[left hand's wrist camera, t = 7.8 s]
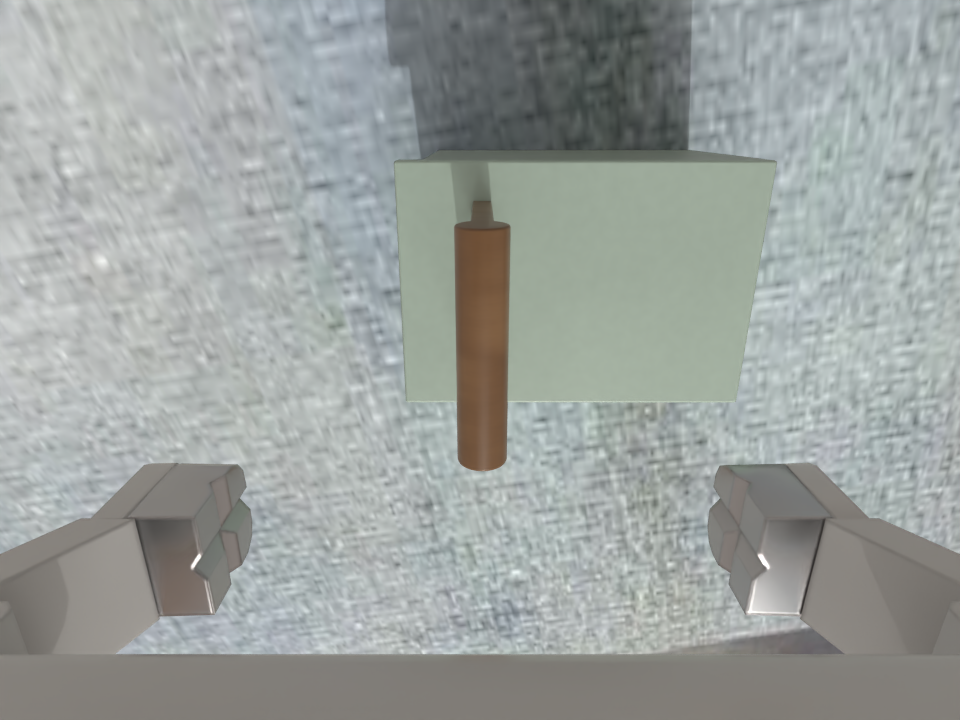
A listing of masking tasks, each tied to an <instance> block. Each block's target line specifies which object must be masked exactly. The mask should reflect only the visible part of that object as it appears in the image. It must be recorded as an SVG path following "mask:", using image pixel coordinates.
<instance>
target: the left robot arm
mask: <svg viewBox="0 0 960 720" xmlns="http://www.w3.org/2000/svg"><path fill="white" fill-rule="evenodd" d="M245 489H246V482H245V477H244V472H243V470H242V469H241V467H240V466H239V465H234V464H183V463H181V464H178V463H152V464H147V465H144V466H143V467H142V468H141V469H140V470H139V471H138V472H137V473H136V474H135V475H134V476H133V477H132V478H131V479H130V480H129V481H128V482H127V483H126V484H125V485H124V486H123V487H122V488H121V489H120V490H119V491H118V492H117V493H116V494H115V495H114V496H113V497H112V498H111V499H110V500H109V501H108V502H107V503H106V504H105V505H104V506H103V507H102V508H101V509H100V510H99V511H98V512H97V513H96V514H95V515H94V516H93V517H92V518H82V519H79V520H76V521H74V522H72V523H70V524H67V525H65V526H63V527H60V528H58V529H56V530H54V531H51V532H49V533H47V534H45V535H42V536H40V537H38V538H36V539H33V540H31V541H29V542H27V543H24V544H22V545H20V546H18V547H15V548H13V549H11V550H8V551H6V552H4V553H2V554H0V720H960V554H958V553H956V552H954V551H951V550H949V549H947V548H945V547H942V546H940V545H938V544H936V543H933V542H931V541H929V540H927V539H924V538H922V537H920V536H918V535H915V534H913V533H911V532H909V531H906V530H904V529H902V528H899V527H897V526H895V525H893V524H890V523H888V522H886V521H884V520H881V519H879V518H868V517H867V516H866V515H865V514H864V513H863V512H862V511H861V510H860V509H859V508H858V507H857V506H856V505H855V504H854V503H853V502H852V501H851V500H850V499H849V498H848V497H847V496H846V495H845V494H844V493H843V492H842V491H841V490H840V489H839V488H838V487H837V486H836V485H835V484H834V483H833V482H832V481H831V480H830V479H829V478H828V477H827V476H826V475H825V474H824V473H823V472H822V471H821V470H820V469H819V468H818V467H817V466H816V465H813V464H811V463H790V464H755V465H723V466H719V468H718V471H717V473H716V476H715V481H714V489H715V490H716V492H717V493H718V495H719V497H720V499H719V500H718V501H717V502H716V503H715V504H714V505H713V506H712V507H711V508H710V511H709V519H708V537H709V544H710V547H711V551H712V554H713V556H714V558H715V560H716V562H717V564H718V565H719V566H721V567H722V568H724V569H725V570H727V571H728V572H730V573H731V574H730V579H729V586H730V588H731V589H732V591H733V593H734V595H735V597H736V598H737V600H738V602H739V604H740V606H741V607H742V609H743V611H744V613H745V615H769V616H801V618H800V619H801V620H802V621H804V622H805V623H806V624H807V625H809V626H810V627H811V628H813V629H814V630H815V631H816V632H818V633H819V634H820V635H822V636H823V637H824V638H825V639H827V640H828V641H829V642H830V643H832V644H833V645H834V646H836V647H837V648H838V649H839V650H841V651H842V652H843V653H844V654H116V653H117V652H118V651H120V650H121V649H122V648H123V647H125V646H126V645H127V644H129V643H130V642H131V641H132V640H134V639H135V638H136V637H137V636H139V635H140V634H141V633H143V632H144V631H145V630H146V629H148V628H149V627H150V626H152V625H153V624H154V623H155V622H157V621H158V620H159V619H160V618H159V616H190V615H215V613H216V611H217V609H218V608H219V606H220V604H221V602H222V600H223V598H224V597H225V595H226V593H227V591H228V589H229V588H230V586H231V579H230V574H229V573H230V572H232V571H233V570H235V569H236V568H238V567H239V566H241V565H242V564H243V562H244V560H245V558H246V556H247V554H248V551H249V547H250V542H251V538H252V517H251V511H250V508H249V507H248V506H247V505H246V504H245V503H244V502H243V501H242V500H241V499H240V497H241V495H242V493H243V492H244V490H245Z"/></svg>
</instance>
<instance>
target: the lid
mask: <svg viewBox="0 0 960 720" xmlns="http://www.w3.org/2000/svg"><path fill="white" fill-rule="evenodd" d="M776 165H777V162H776V161H775V160H767V159H704V160H397V161H395V162H394V174H395V194H396V213H397V233H398V253H399V273H400V292H401V312H402V332H403V352H404V372H405V391H406V401H407V402H457V442H458V460H459V462H460V464H461V465H462V466H464V467H466V468H468V469H471V470H475V471H489V470H494V469H497V468H499V467H501V466H502V465H503V464H504V463H505V461H506V459H507V409H508V402H735V401H736V397H737V391H738V385H739V380H740V374H741V368H742V362H743V356H744V351H745V345H746V339H747V333H748V327H749V322H750V316H751V310H752V304H753V298H754V293H755V287H756V281H757V275H758V269H759V264H760V258H761V252H762V246H763V240H764V235H765V229H766V223H767V217H768V211H769V206H770V200H771V194H772V188H773V182H774V177H775V171H776Z"/></svg>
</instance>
